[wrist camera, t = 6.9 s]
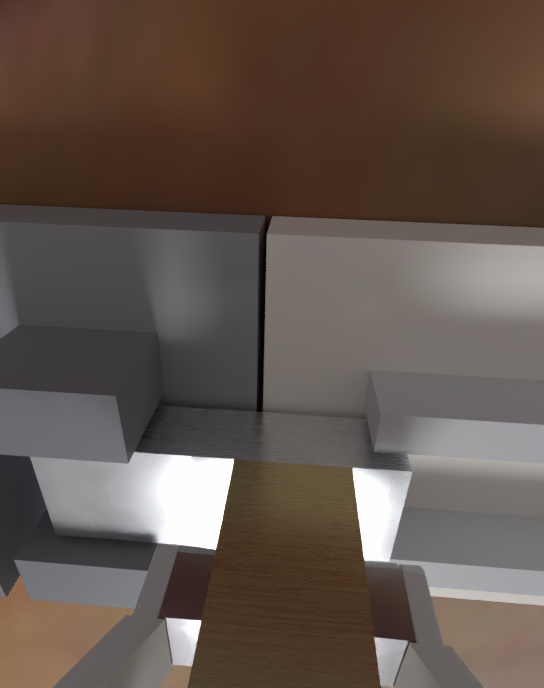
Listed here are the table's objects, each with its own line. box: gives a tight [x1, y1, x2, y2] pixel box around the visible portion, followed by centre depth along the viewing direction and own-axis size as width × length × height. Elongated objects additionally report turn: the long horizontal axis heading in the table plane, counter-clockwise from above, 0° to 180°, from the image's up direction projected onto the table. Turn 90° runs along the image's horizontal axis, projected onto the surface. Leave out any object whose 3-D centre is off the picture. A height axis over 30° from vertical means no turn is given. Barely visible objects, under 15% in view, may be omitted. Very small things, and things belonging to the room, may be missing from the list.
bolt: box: [30, 405, 412, 688], centre depth 10 cm, size 10×4×7 cm, turn 88°
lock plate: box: [0, 204, 544, 609], centre depth 13 cm, size 22×14×5 cm, turn 88°
